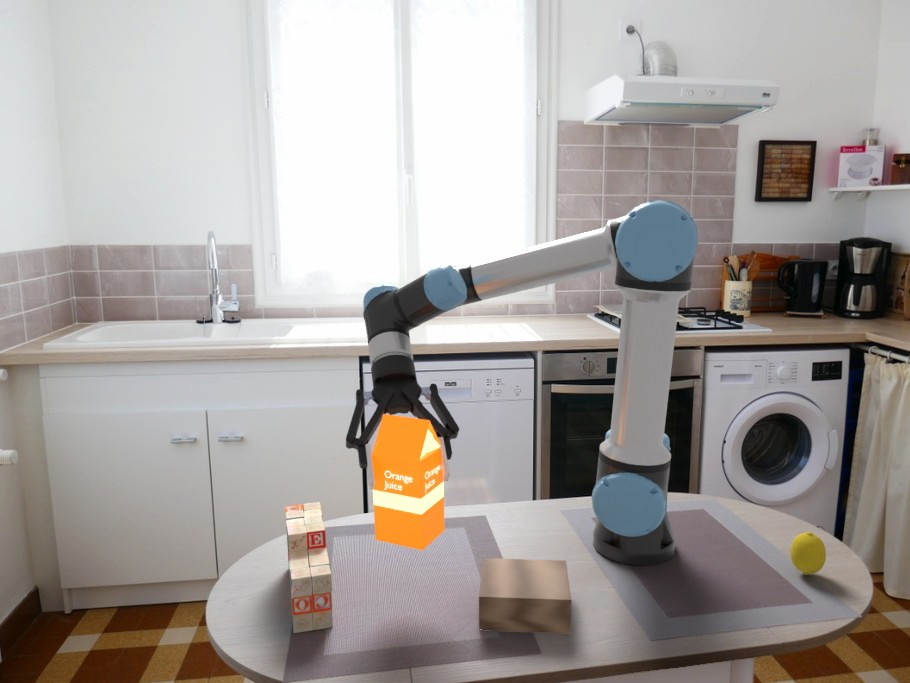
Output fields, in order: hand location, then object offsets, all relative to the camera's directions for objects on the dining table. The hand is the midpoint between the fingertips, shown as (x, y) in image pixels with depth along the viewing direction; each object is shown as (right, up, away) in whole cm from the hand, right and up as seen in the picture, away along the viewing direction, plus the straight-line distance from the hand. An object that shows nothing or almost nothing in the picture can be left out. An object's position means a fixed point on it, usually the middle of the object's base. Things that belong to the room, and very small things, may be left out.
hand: (409, 481), depth 109 cm
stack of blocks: (-18, -21, +9) cm, 29 cm away
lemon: (+69, -19, +13) cm, 73 cm away
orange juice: (0, -10, +5) cm, 11 cm away
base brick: (+18, -22, +4) cm, 29 cm away
